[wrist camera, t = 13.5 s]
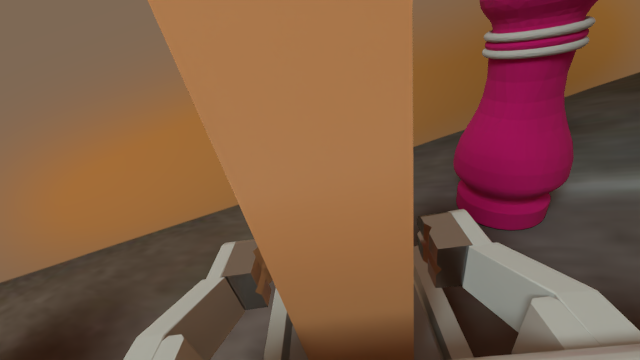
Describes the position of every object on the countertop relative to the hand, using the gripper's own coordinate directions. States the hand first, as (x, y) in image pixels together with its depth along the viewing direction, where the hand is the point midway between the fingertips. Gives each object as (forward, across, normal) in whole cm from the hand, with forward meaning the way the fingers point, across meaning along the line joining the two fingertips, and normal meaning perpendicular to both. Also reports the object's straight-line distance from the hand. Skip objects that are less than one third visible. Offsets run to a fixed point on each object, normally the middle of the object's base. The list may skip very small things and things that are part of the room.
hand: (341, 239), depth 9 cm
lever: (-1, 0, +6) cm, 6 cm away
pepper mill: (+11, -13, +9) cm, 19 cm away
